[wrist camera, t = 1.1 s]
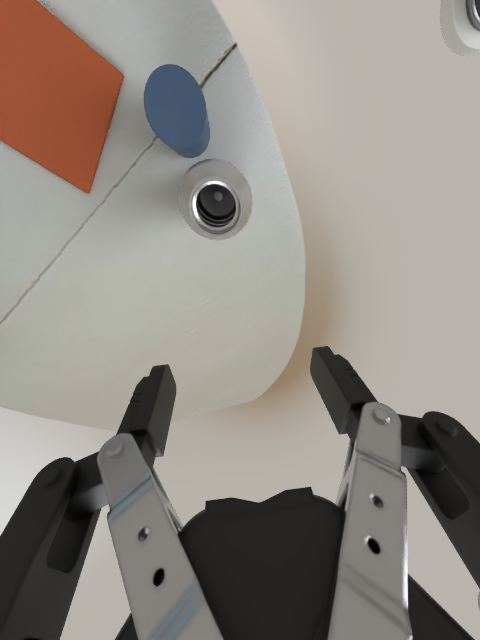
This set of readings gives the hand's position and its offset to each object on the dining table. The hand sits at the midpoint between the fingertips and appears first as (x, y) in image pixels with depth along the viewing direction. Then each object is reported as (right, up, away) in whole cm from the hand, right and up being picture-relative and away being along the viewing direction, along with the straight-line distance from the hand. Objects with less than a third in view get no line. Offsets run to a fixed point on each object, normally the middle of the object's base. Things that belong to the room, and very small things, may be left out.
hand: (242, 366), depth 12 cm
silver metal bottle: (-3, +21, +20) cm, 29 cm away
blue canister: (-7, +27, +15) cm, 32 cm away
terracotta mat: (-22, +28, +13) cm, 38 cm away
